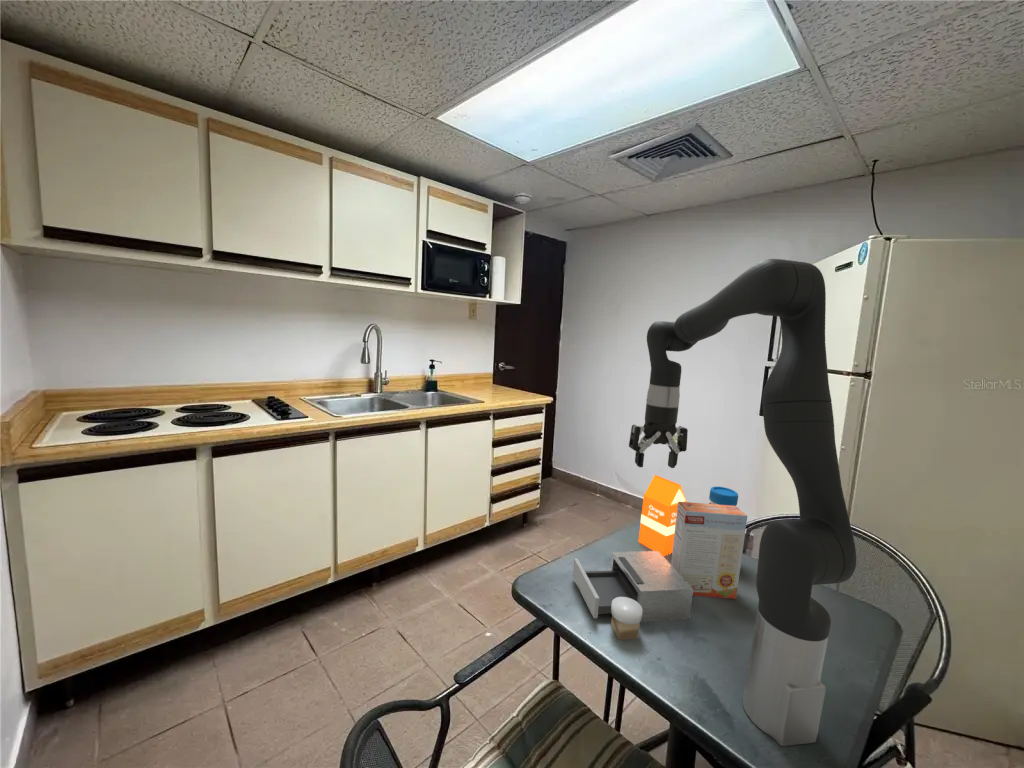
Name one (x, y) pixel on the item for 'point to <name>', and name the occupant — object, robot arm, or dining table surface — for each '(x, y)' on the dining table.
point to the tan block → (625, 629)
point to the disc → (626, 610)
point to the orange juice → (660, 515)
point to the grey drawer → (601, 588)
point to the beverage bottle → (723, 496)
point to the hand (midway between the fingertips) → (655, 466)
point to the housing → (655, 585)
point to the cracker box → (709, 547)
